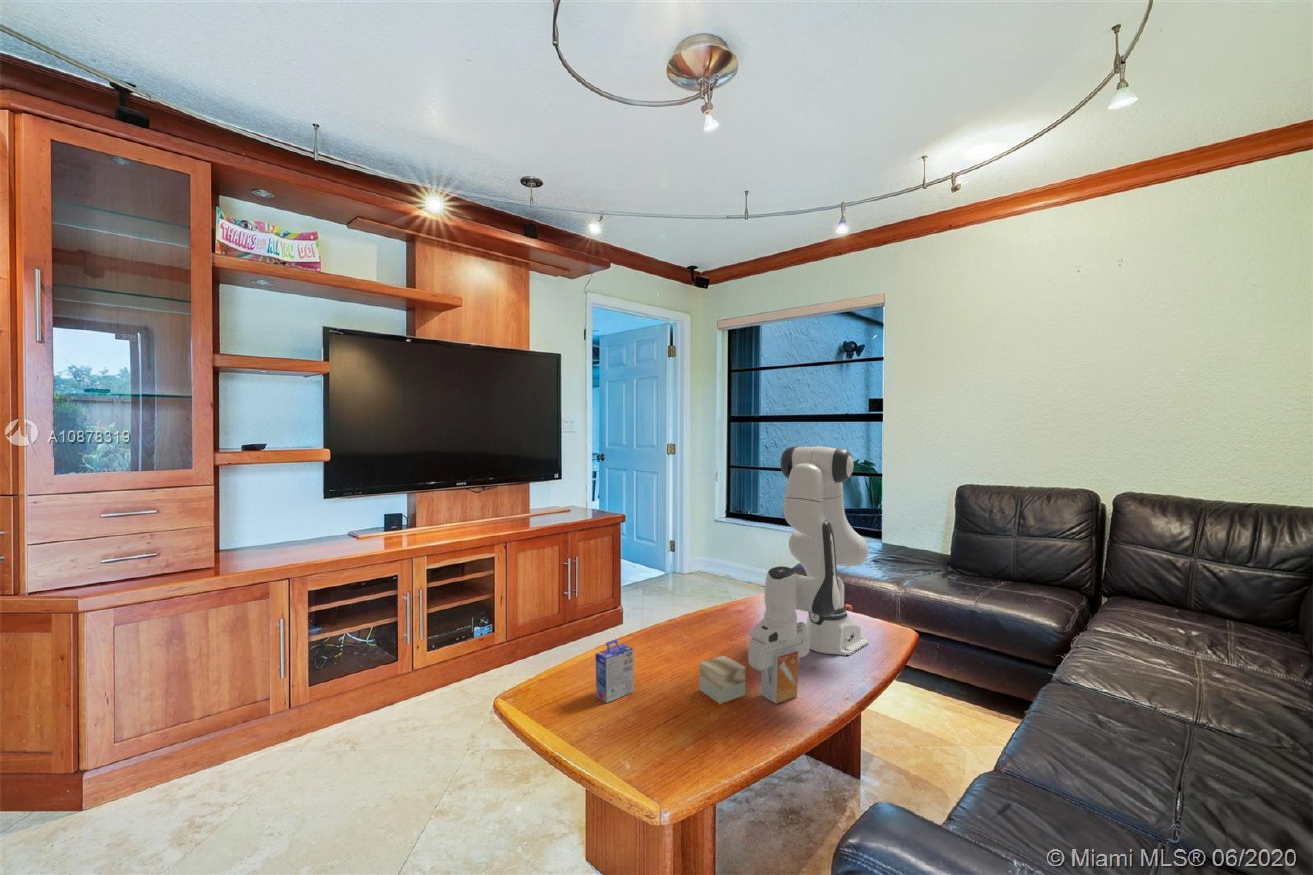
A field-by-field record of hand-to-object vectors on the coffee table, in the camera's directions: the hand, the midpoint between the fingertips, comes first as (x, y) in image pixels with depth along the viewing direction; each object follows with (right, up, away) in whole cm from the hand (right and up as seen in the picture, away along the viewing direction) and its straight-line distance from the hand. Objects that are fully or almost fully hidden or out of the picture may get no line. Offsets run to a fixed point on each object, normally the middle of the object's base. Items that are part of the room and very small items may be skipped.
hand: (779, 677), depth 151 cm
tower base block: (-16, -5, +2) cm, 17 cm away
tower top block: (-15, -1, +2) cm, 16 cm away
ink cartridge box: (-45, -5, +1) cm, 46 cm away
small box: (0, -5, 0) cm, 5 cm away
